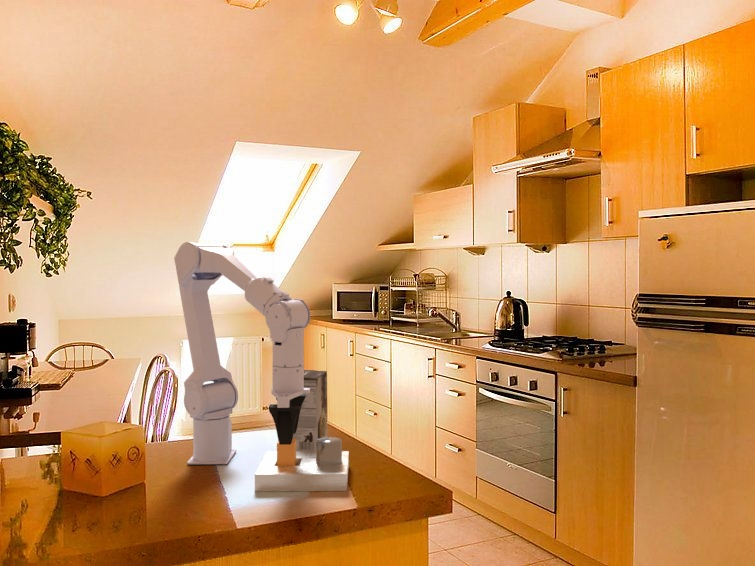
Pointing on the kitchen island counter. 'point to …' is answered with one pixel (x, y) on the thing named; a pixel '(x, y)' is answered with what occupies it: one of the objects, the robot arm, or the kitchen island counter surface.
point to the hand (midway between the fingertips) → (288, 438)
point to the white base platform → (307, 469)
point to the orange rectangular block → (286, 454)
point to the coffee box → (312, 411)
